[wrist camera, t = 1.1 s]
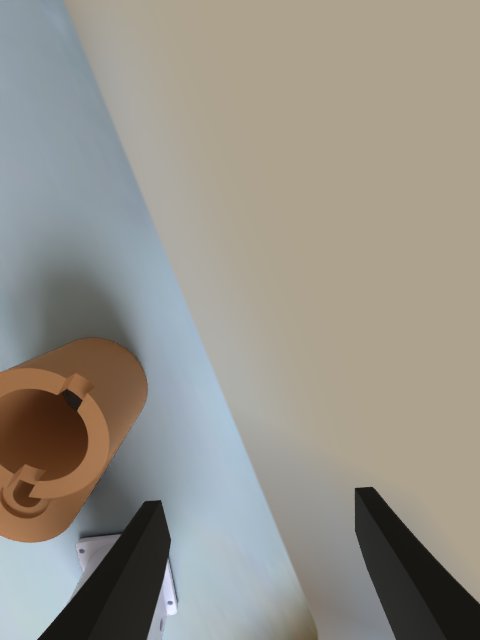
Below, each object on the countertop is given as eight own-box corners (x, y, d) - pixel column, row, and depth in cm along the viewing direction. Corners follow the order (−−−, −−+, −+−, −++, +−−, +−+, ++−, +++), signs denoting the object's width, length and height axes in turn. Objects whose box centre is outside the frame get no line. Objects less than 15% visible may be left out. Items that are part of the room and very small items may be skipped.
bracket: (74, 318, 21) (-4, 340, 14) (166, 370, 22) (134, 415, 15) (-15, 485, 23) (-117, 573, 17) (70, 525, 24) (7, 624, 18)
